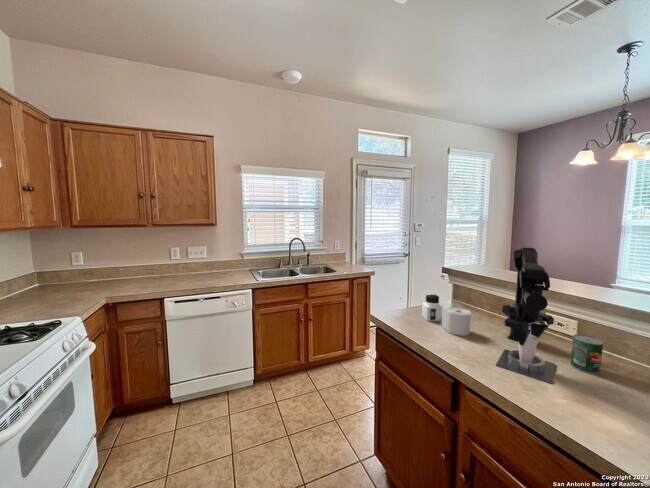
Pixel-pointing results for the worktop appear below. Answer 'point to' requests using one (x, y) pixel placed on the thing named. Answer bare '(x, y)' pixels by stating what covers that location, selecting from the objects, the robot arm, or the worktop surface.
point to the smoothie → (528, 348)
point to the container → (432, 308)
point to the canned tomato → (586, 354)
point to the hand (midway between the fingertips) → (527, 343)
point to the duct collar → (527, 366)
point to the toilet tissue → (456, 321)
